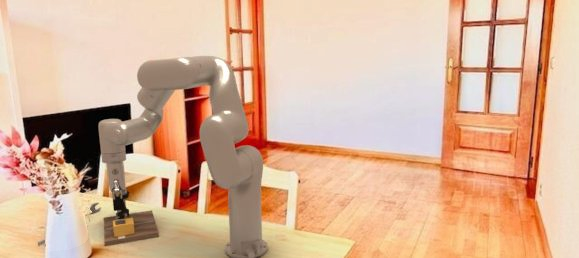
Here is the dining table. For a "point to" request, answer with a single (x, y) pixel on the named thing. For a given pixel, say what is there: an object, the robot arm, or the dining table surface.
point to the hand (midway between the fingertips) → (118, 205)
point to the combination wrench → (94, 208)
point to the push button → (124, 213)
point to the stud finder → (123, 227)
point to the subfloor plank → (142, 228)
